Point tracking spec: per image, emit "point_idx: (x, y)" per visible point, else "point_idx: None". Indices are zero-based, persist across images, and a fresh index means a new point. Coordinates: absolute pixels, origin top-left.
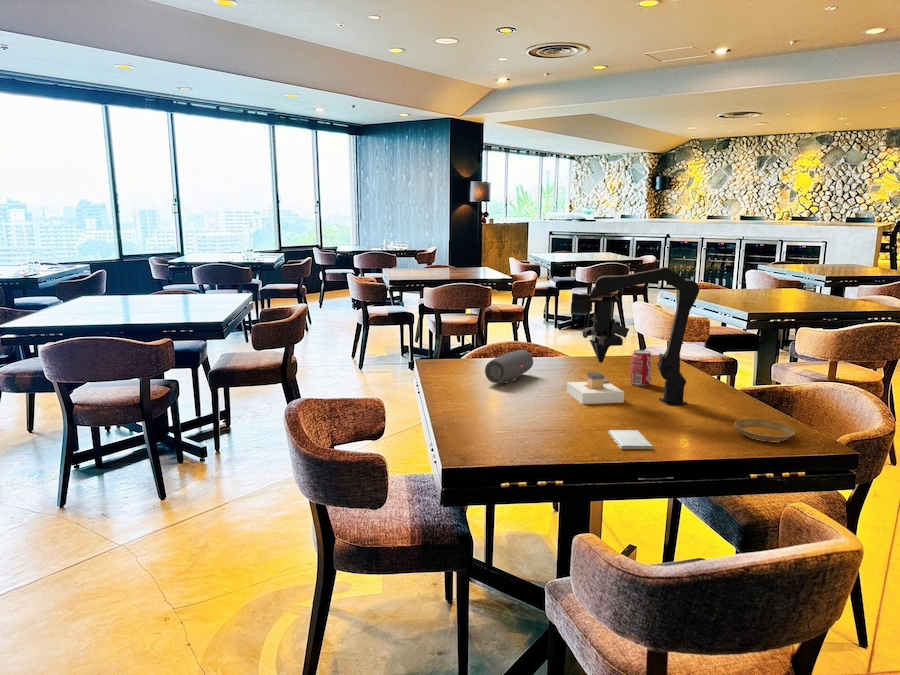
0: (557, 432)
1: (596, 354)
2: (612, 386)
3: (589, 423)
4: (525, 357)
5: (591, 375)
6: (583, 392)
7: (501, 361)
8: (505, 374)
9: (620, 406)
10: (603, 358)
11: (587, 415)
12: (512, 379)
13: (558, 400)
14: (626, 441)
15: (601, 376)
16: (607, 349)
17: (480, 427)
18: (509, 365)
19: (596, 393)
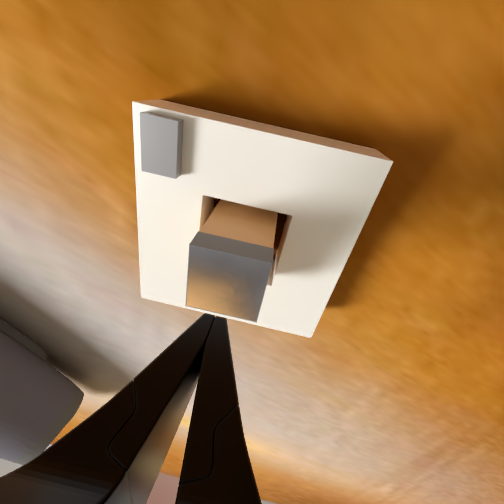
0: (463, 451)
1: (180, 416)
2: (261, 151)
3: (474, 386)
4: None
5: (245, 317)
6: (301, 329)
7: (26, 454)
8: (73, 413)
9: (413, 205)
10: (230, 353)
11: (415, 355)
12: (17, 337)
13: (243, 338)
14: None
15: (268, 272)
16: (252, 477)
17: (346, 493)
18: (27, 422)
19: (330, 293)
